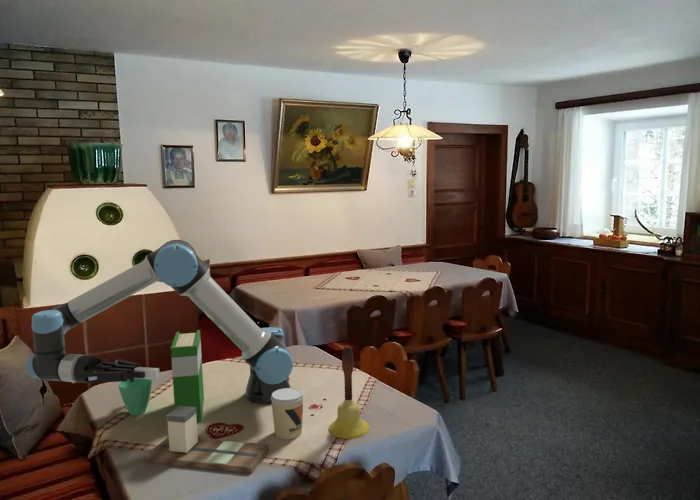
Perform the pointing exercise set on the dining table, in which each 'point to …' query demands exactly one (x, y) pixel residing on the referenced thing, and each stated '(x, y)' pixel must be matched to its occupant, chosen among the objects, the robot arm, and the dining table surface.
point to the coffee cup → (287, 412)
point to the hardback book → (188, 371)
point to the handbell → (348, 406)
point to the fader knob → (182, 428)
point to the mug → (136, 395)
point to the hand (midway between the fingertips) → (157, 374)
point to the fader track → (212, 455)
